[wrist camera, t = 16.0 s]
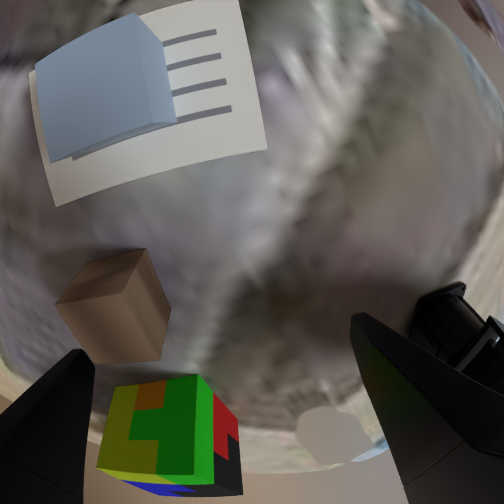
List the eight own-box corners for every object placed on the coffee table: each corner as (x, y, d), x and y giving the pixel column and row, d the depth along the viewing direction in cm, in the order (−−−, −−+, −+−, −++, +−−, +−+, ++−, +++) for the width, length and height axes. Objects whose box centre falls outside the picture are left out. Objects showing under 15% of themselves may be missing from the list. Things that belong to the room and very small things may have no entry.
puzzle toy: (164, 427, 28) (159, 495, 19) (115, 386, 23) (96, 467, 14) (237, 418, 27) (243, 494, 18) (198, 373, 22) (193, 474, 13)
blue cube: (162, 42, 11) (134, 12, 6) (177, 122, 13) (153, 122, 8) (84, 73, 11) (34, 64, 6) (98, 148, 13) (50, 163, 8)
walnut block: (146, 247, 16) (121, 293, 12) (171, 308, 19) (159, 360, 14) (87, 262, 16) (54, 304, 12) (115, 316, 19) (95, 364, 14)
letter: (236, -6, 10) (236, -7, 9) (266, 148, 14) (267, 149, 14) (30, 74, 10) (28, 74, 9) (57, 206, 14) (56, 207, 14)
